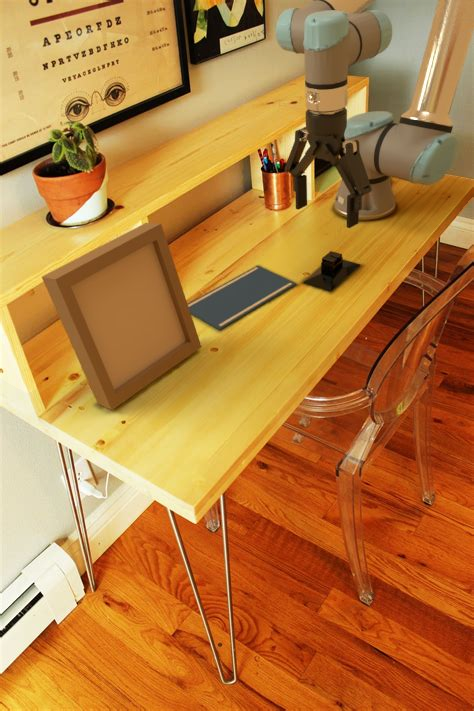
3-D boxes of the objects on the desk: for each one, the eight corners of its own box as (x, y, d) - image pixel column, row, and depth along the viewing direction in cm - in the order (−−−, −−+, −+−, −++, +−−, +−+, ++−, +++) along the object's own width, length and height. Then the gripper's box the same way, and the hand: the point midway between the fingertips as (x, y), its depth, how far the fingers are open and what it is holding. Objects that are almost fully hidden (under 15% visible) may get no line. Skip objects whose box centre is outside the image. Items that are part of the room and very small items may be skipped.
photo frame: (202, 350, 119) (183, 231, 104) (113, 414, 107) (77, 290, 92) (151, 324, 128) (126, 210, 112) (63, 380, 116) (22, 262, 100)
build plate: (330, 292, 131) (330, 273, 128) (301, 283, 135) (300, 264, 132) (360, 265, 139) (361, 247, 136) (331, 257, 142) (331, 239, 140)
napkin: (257, 266, 142) (257, 265, 142) (296, 284, 135) (296, 283, 134) (182, 308, 131) (181, 306, 131) (219, 330, 124) (219, 328, 124)
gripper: (263, 102, 120) (269, 206, 133) (367, 127, 105) (363, 241, 118) (290, 92, 124) (294, 194, 137) (395, 114, 108) (388, 226, 121)
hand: (326, 216), depth 127 cm, fingers open, 13 cm apart
